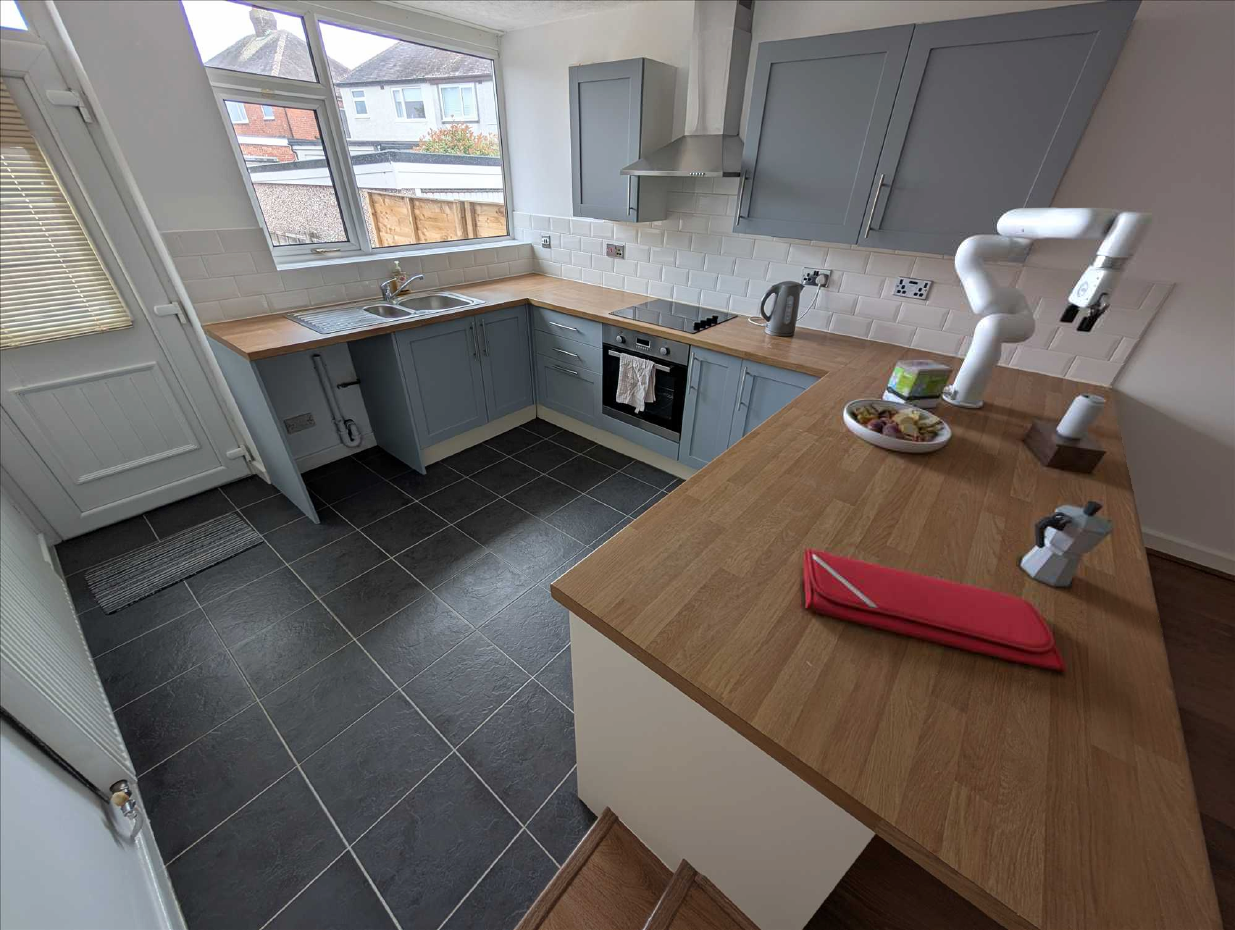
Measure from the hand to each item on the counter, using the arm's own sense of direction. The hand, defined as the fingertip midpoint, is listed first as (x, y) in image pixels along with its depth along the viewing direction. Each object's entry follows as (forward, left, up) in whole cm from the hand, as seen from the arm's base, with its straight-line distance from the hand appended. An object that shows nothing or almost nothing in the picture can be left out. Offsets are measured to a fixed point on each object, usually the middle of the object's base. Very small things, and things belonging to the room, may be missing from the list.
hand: (1073, 326), depth 137 cm
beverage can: (+6, -15, -27) cm, 31 cm away
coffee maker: (-22, -75, -34) cm, 85 cm away
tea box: (-30, +10, -34) cm, 47 cm away
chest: (+6, -15, -34) cm, 38 cm away
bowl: (-41, -18, -34) cm, 57 cm away
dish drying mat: (-50, -95, -34) cm, 113 cm away
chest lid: (+5, -15, -28) cm, 32 cm away
